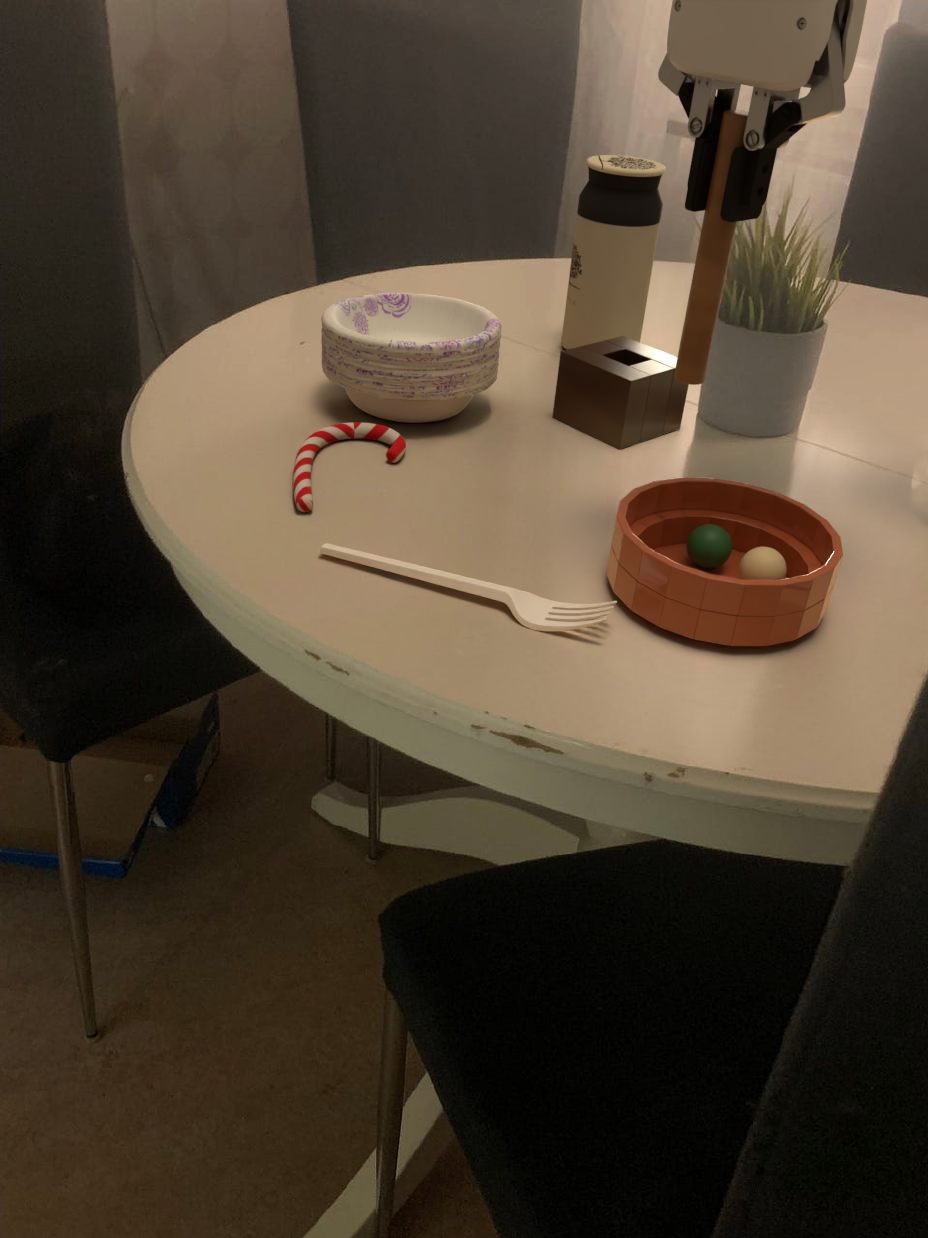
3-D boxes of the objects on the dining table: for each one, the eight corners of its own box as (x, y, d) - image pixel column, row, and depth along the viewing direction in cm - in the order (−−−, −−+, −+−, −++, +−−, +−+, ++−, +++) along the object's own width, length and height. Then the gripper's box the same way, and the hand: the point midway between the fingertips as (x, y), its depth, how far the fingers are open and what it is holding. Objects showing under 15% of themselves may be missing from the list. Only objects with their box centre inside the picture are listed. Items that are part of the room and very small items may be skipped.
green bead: (701, 550, 75) (709, 512, 74) (736, 568, 73) (745, 529, 72) (673, 562, 73) (681, 523, 72) (708, 581, 72) (717, 542, 70)
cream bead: (752, 572, 73) (762, 533, 71) (789, 592, 71) (800, 552, 70) (725, 586, 71) (735, 546, 70) (762, 606, 70) (773, 566, 68)
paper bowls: (383, 360, 104) (386, 276, 99) (524, 399, 98) (533, 312, 93) (285, 408, 92) (283, 316, 88) (437, 455, 86) (443, 359, 82)
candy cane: (257, 491, 76) (323, 413, 89) (258, 507, 77) (323, 427, 89) (363, 508, 75) (415, 427, 88) (363, 525, 76) (414, 442, 88)
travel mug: (639, 341, 114) (669, 159, 104) (636, 367, 107) (668, 175, 97) (564, 332, 114) (587, 150, 105) (556, 356, 108) (580, 165, 98)
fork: (332, 544, 73) (332, 520, 72) (615, 622, 68) (619, 597, 67) (308, 566, 71) (308, 541, 70) (600, 648, 65) (605, 622, 64)
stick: (687, 371, 72) (738, 108, 63) (710, 381, 70) (766, 114, 62) (667, 377, 71) (716, 110, 62) (691, 387, 69) (744, 116, 61)
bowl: (695, 521, 80) (708, 460, 77) (864, 606, 72) (885, 541, 69) (562, 578, 72) (571, 511, 69) (735, 682, 63) (753, 610, 61)
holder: (612, 398, 100) (622, 335, 96) (680, 428, 95) (693, 363, 91) (552, 417, 95) (560, 350, 92) (619, 449, 90) (631, 380, 87)
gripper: (978, -153, 52) (871, 239, 62) (718, -159, 62) (662, 181, 72) (895, -170, 48) (795, 254, 58) (630, -173, 57) (584, 190, 68)
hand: (722, 211), depth 65 cm, fingers closed on stick, 2 cm apart
